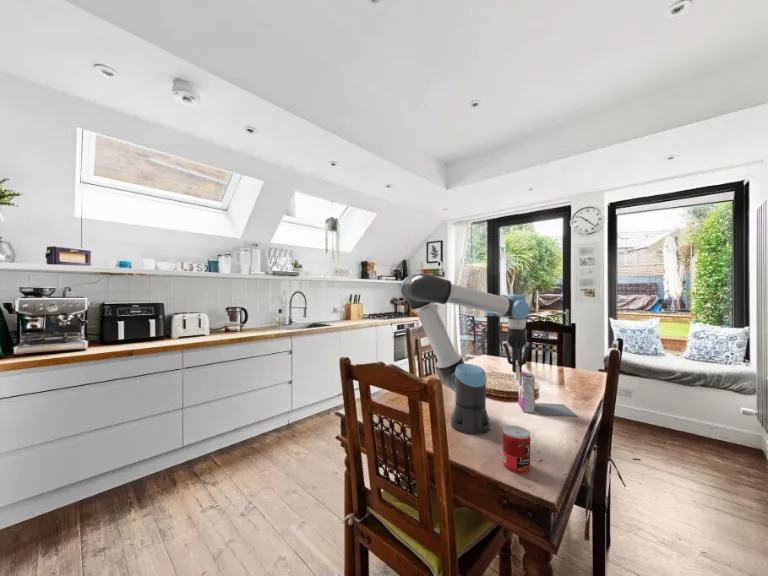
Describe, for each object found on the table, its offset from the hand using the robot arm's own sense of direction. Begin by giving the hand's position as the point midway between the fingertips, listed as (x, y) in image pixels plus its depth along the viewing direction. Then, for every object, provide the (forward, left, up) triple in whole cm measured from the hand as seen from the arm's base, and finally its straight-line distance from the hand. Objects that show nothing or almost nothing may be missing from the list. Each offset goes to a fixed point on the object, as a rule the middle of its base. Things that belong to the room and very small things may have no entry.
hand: (517, 379), depth 148 cm
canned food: (-14, -51, -13) cm, 55 cm away
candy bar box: (+4, 0, -13) cm, 14 cm away
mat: (+15, 0, -13) cm, 20 cm away
